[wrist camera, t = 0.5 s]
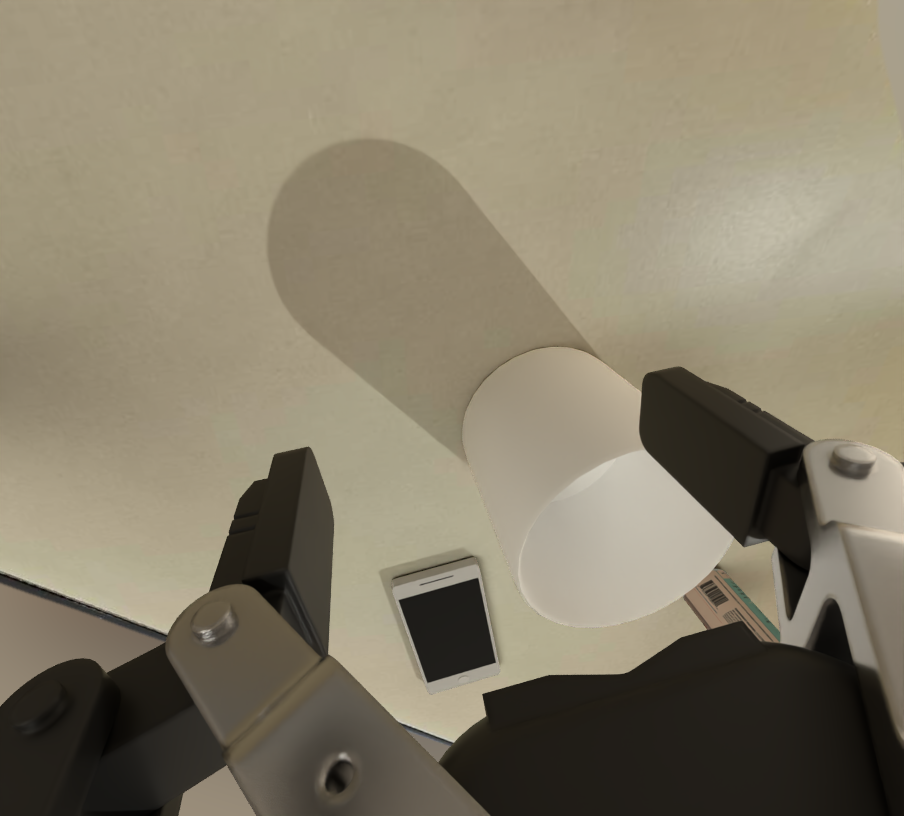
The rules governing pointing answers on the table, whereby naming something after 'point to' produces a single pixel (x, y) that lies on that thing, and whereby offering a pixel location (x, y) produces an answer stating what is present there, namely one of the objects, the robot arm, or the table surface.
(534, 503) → the cup
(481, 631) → the smartphone
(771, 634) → the beer can
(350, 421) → the table surface
